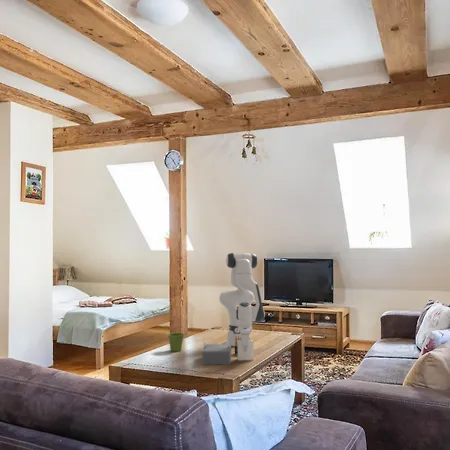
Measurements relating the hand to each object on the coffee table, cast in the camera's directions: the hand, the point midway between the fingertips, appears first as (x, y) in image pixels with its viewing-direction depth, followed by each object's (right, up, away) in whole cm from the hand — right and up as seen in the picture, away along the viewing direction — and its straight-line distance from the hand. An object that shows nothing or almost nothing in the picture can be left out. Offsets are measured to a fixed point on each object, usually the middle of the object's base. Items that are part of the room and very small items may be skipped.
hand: (245, 350), depth 322 cm
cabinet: (-18, -6, -1) cm, 19 cm away
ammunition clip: (-1, -6, +16) cm, 17 cm away
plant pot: (-47, -7, +29) cm, 55 cm away
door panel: (0, -6, 0) cm, 6 cm away
